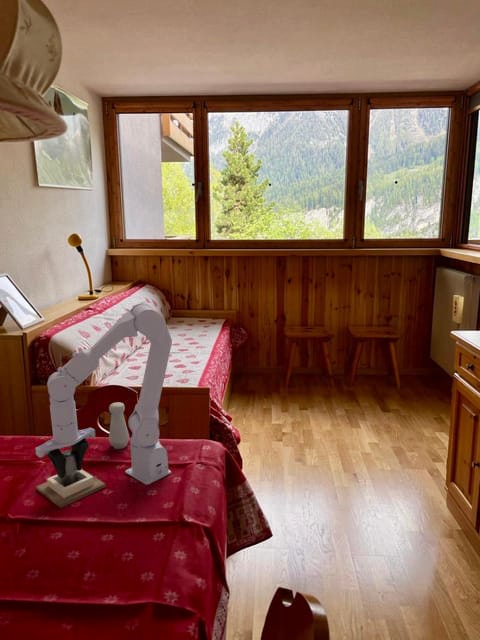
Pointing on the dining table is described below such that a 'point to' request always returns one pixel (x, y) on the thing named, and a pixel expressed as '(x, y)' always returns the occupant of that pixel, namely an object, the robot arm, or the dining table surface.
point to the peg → (69, 468)
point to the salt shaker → (118, 426)
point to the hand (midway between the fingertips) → (69, 472)
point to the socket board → (70, 488)
